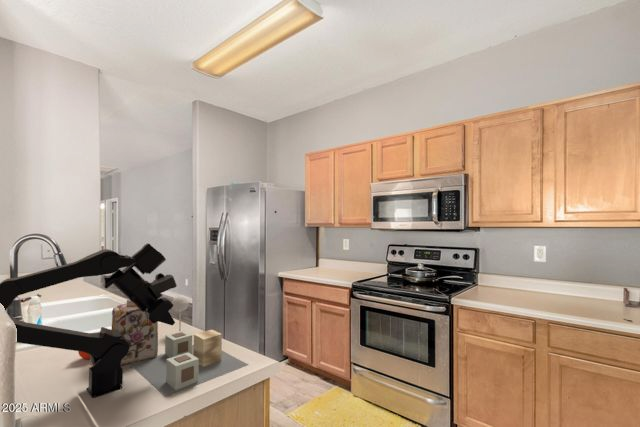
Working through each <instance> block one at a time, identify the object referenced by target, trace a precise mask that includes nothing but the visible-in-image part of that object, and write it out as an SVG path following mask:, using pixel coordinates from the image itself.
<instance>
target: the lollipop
mask: <svg viewBox="0 0 640 427" xmlns="http://www.w3.org/2000/svg"><path fill="white" fill-rule="evenodd" d="M171 303H172V304H173V307H172V308H171V309H173V310H174V311H175V312H179V316H178V317H179V319H178V320H179V322H178V323H179V329H178V330H179V331H178V332H180V331H182V330H181V327H182V326H181V325H182V324H181V323H182V322H181V321H182V318H181V317H182V312H184V311H185V310H186V309H187V308H188V307H189V306H190V305H189V303H190V301H189V298H188V297H187V296H185V295H183V294H182V295H181V294H180V295H177V296H175V297H174V298H173V299H172V301H171Z"/></svg>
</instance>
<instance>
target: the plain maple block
mask: <svg viewBox="0 0 640 427" xmlns="http://www.w3.org/2000/svg"><path fill="white" fill-rule="evenodd" d="M222 341H223V334H222V333H221V332H218V331H216V330H213V329H209V330H205V331H202V332H201V331H200V332H197V333H194V334H193V345H194V353H193V356H195V357H197V358H198V359H199V365H201V366H202V367H204V366H207V365H210V364H212V363H215V362H218V361H221V356H222V351H223V350H222V347H223V346H222V344H223V343H222Z"/></svg>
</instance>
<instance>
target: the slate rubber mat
mask: <svg viewBox="0 0 640 427" xmlns="http://www.w3.org/2000/svg"><path fill="white" fill-rule="evenodd" d="M193 353H194V344H192V355H193ZM168 358H170V357H168V356H167V355H166V354H165V353H163V354H158V355H157V357H153V358H149V359H145V360H141V361H136V362H132V363H129V365H130V366H131V367H132V368H133V369H134V370H135V371H137V372H138V374H140V375H141V376H142V377H143V378H144V379H145V380H146V381H148V383H150V385H152V386H153V387H154V388H155V389H156V390H157V391H159V392H160V394H162V395H163V396H164V397H165V398H168V397H171V396H173V395H176V394H178V393H181V392H184V391H186V390H188V389H191V388H193V387H196V386H199V385H201V384H204V383H206V382H209V381H211V380H214V379H216V378H220V377H221V376H224V375H227V374H228V373H232V372H234V371H236V370H239V369H242V368H244V367H247V366H249V364H248V363H246V362H245V361H242V360H241V359H239V358H237V357H235V356H234V355H231V354H230V353H227V352H225V351H224V350H222V356H221V361H218V362H215V363H212V364H210V365H207V366H204V367H202V366H201V365H199V372H198V382H196V383H193V384H190V385H188V386H185V387H183V388H180V389H177V390H175V389H174V388H173V387H171V386H170V385H169V384H168V383H167V382H166V359H168Z"/></svg>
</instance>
